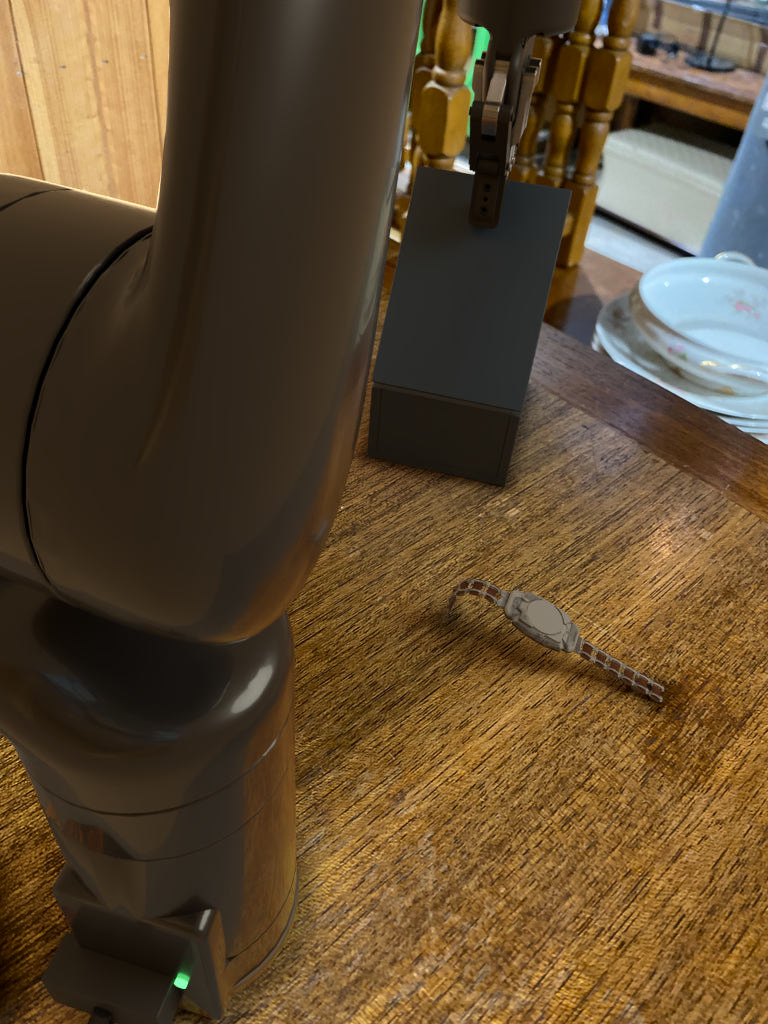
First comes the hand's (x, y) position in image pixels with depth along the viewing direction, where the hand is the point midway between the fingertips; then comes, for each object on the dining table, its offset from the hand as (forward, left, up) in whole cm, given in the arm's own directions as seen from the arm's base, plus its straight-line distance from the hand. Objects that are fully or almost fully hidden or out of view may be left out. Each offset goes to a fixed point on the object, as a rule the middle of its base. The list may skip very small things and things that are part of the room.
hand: (483, 223), depth 57 cm
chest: (+1, 0, -18) cm, 18 cm away
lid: (-2, 0, -5) cm, 5 cm away
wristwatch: (-23, -11, -18) cm, 32 cm away
